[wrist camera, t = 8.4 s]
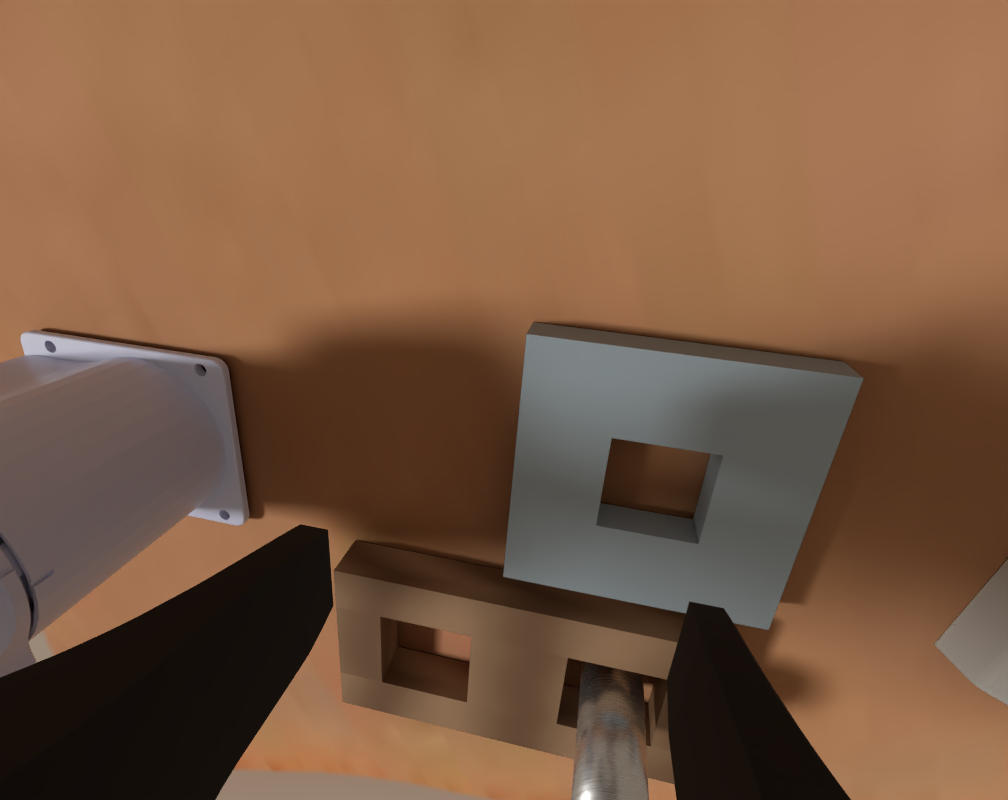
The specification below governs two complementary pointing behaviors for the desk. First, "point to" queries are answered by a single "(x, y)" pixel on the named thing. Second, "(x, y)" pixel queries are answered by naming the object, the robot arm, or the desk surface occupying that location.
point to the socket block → (678, 424)
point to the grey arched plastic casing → (982, 638)
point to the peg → (610, 736)
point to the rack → (493, 649)
